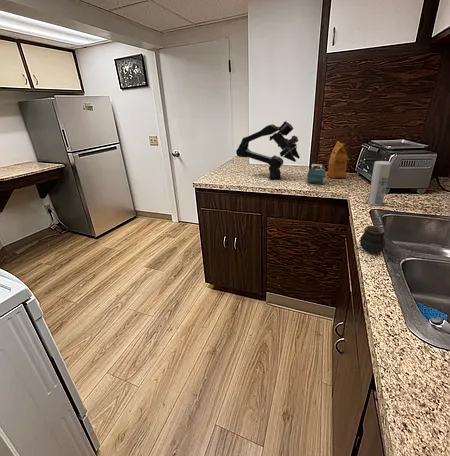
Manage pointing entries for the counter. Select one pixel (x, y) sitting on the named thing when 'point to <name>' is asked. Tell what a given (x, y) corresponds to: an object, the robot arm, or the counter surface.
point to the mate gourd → (373, 239)
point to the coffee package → (338, 161)
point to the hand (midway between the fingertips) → (297, 159)
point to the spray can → (379, 182)
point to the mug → (316, 175)
